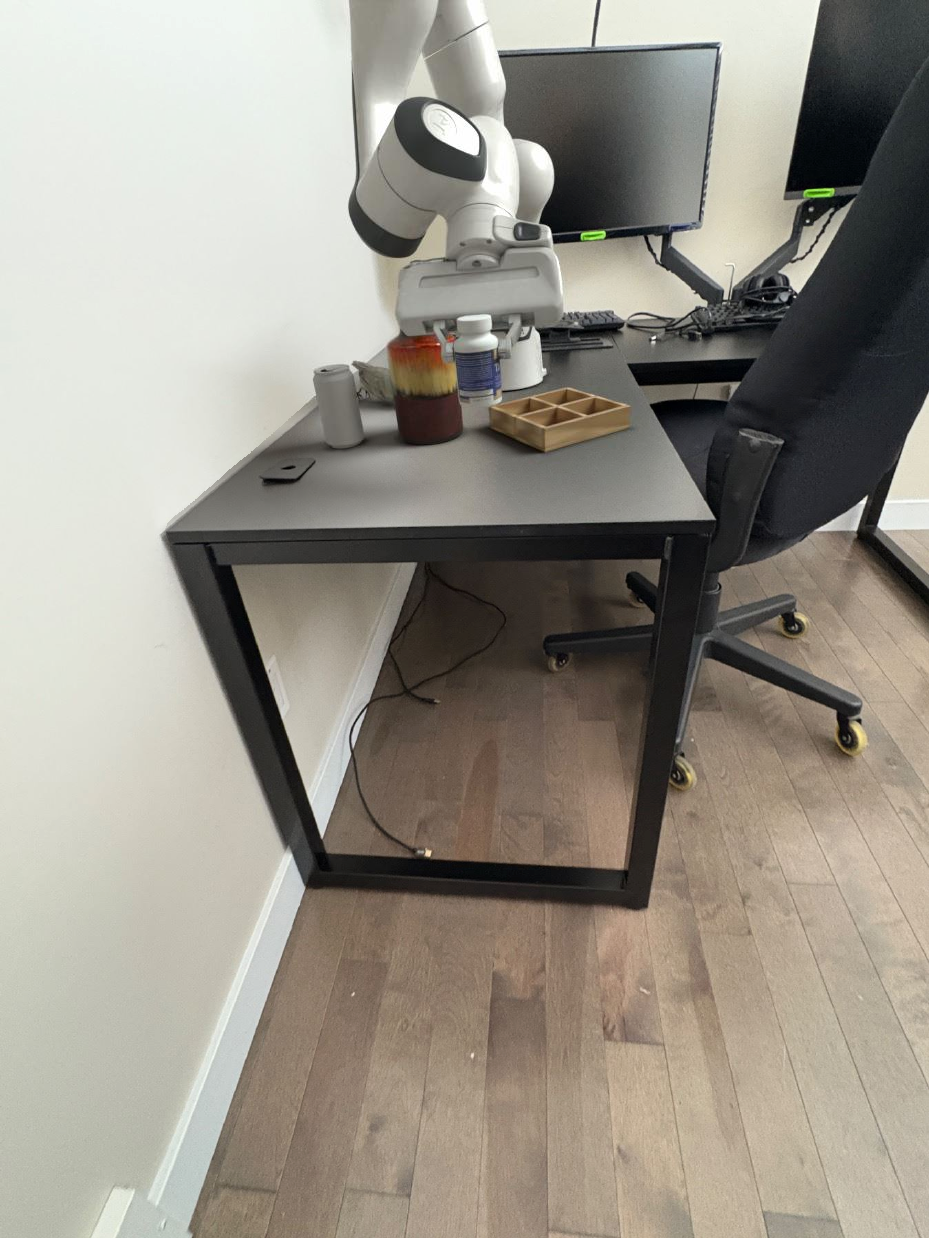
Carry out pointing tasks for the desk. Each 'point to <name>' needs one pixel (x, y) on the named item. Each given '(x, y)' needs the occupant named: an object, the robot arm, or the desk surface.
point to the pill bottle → (477, 363)
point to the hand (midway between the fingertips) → (476, 358)
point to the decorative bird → (375, 381)
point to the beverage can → (338, 405)
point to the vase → (424, 390)
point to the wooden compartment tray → (559, 418)
